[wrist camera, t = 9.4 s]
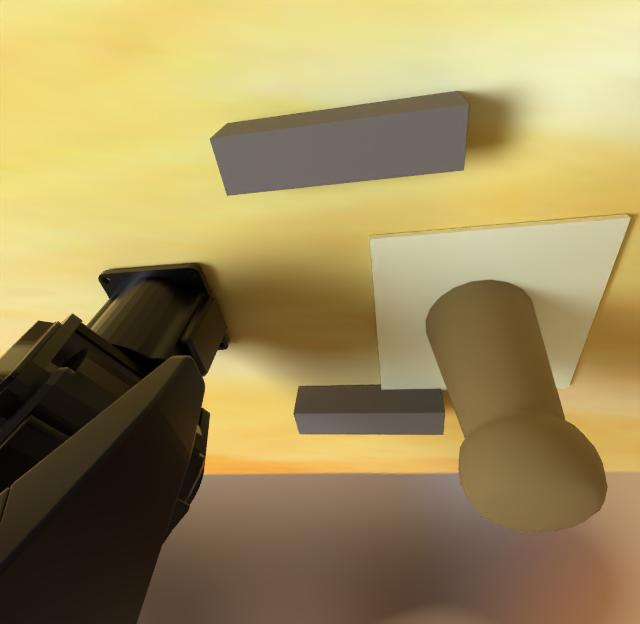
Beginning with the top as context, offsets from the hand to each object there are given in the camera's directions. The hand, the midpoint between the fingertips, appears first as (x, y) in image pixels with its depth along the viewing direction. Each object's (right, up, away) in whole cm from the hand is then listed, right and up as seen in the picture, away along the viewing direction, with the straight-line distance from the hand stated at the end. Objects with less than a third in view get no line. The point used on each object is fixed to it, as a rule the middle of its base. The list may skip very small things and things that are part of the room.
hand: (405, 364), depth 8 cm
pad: (+8, +1, +15) cm, 17 cm away
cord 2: (-1, +9, +10) cm, 13 cm away
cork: (+8, +1, +15) cm, 17 cm away
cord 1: (+2, -5, +21) cm, 21 cm away
